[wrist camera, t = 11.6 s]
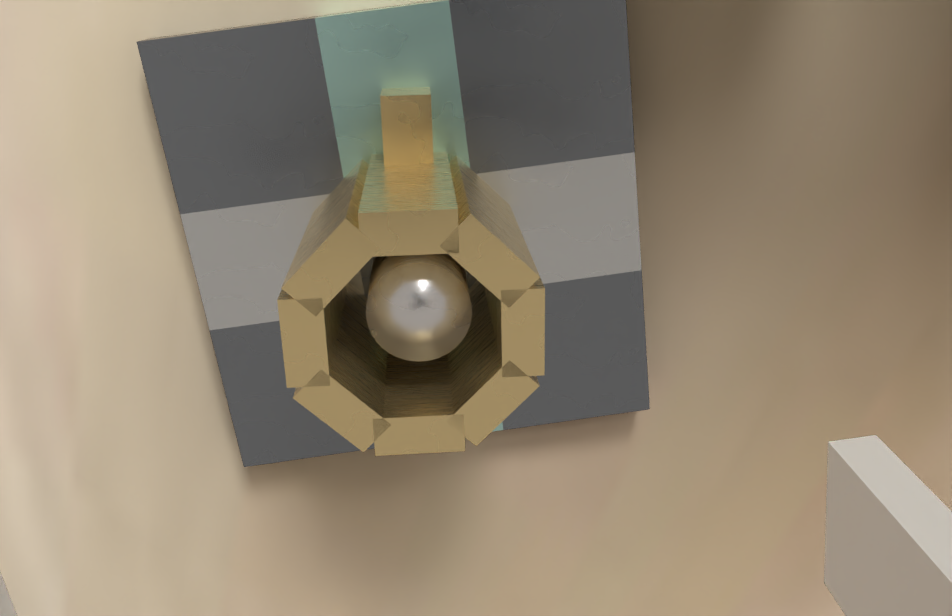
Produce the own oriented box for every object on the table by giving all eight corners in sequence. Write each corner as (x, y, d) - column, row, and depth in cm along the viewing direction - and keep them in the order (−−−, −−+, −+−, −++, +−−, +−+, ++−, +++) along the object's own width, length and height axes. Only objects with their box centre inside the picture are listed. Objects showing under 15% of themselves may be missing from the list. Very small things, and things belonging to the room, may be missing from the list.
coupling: (298, 90, 29) (258, 130, 22) (512, 84, 30) (546, 120, 22) (326, 402, 33) (301, 525, 26) (514, 393, 34) (543, 511, 26)
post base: (614, -24, 30) (686, -24, 22) (640, 392, 36) (705, 510, 28) (149, 38, 30) (54, 61, 22) (250, 447, 36) (204, 583, 28)
